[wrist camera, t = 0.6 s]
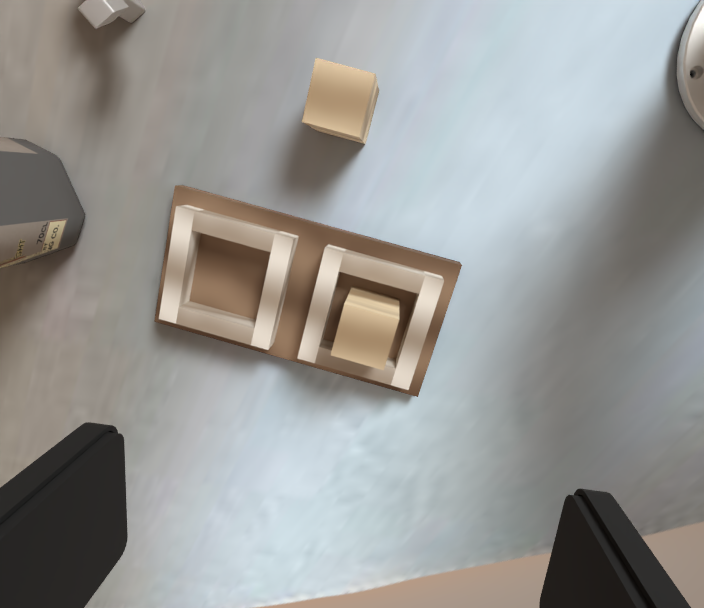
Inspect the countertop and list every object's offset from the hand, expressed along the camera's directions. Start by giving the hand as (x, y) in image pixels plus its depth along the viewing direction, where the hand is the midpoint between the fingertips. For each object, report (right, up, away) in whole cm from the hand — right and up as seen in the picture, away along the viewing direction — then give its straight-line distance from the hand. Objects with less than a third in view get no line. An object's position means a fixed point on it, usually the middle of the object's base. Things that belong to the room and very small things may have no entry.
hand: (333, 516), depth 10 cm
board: (-4, +6, +31) cm, 31 cm away
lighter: (-17, +27, +26) cm, 41 cm away
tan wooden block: (0, +19, +27) cm, 33 cm away
